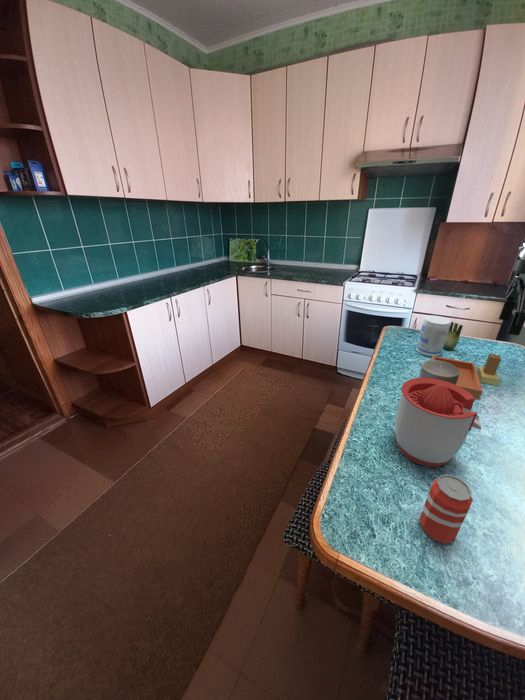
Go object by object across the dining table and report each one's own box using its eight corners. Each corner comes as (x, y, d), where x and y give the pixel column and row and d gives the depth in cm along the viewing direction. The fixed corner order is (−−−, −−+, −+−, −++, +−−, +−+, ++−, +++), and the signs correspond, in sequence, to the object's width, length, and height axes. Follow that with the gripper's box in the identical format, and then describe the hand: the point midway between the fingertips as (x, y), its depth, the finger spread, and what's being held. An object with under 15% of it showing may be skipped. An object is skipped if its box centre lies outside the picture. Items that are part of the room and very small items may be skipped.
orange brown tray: (471, 370, 108) (474, 363, 106) (479, 399, 92) (482, 391, 91) (430, 363, 113) (432, 355, 112) (431, 389, 98) (433, 381, 96)
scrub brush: (493, 374, 105) (501, 352, 101) (497, 385, 99) (506, 362, 95) (476, 371, 107) (484, 349, 103) (479, 382, 101) (488, 359, 97)
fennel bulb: (456, 350, 122) (465, 324, 117) (446, 352, 121) (455, 325, 116) (446, 345, 127) (454, 319, 122) (436, 346, 126) (444, 320, 121)
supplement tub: (410, 349, 124) (418, 316, 118) (427, 345, 127) (436, 313, 120) (428, 359, 116) (438, 325, 110) (446, 355, 119) (457, 321, 112)
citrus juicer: (467, 488, 64) (499, 417, 55) (384, 459, 72) (400, 392, 63) (464, 442, 76) (489, 378, 67) (393, 421, 84) (407, 361, 75)
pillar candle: (450, 404, 90) (465, 362, 83) (442, 420, 84) (457, 376, 77) (417, 392, 96) (428, 352, 89) (407, 406, 90) (418, 364, 83)
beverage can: (446, 515, 59) (464, 473, 53) (460, 548, 53) (482, 506, 48) (415, 510, 60) (429, 470, 54) (425, 543, 54) (442, 501, 48)
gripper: (508, 252, 96) (487, 313, 105) (529, 266, 76) (501, 339, 86) (537, 253, 93) (513, 315, 102) (567, 268, 73) (534, 343, 83)
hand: (508, 326), depth 94 cm, fingers open, 13 cm apart
